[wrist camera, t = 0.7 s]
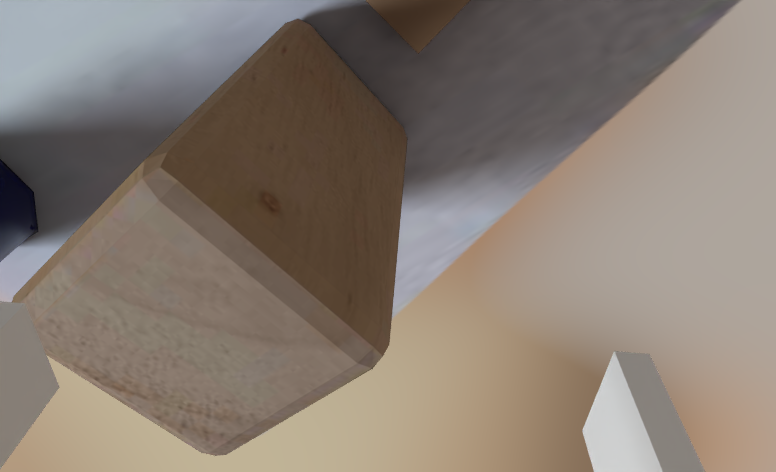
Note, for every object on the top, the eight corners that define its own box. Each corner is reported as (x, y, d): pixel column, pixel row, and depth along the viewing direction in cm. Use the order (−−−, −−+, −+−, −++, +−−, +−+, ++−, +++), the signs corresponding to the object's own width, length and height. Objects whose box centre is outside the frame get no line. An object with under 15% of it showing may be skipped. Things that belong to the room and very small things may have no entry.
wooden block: (301, 7, 31) (149, 153, 14) (414, 133, 35) (399, 367, 18) (195, 115, 35) (-20, 329, 18) (307, 218, 39) (213, 473, 22)
